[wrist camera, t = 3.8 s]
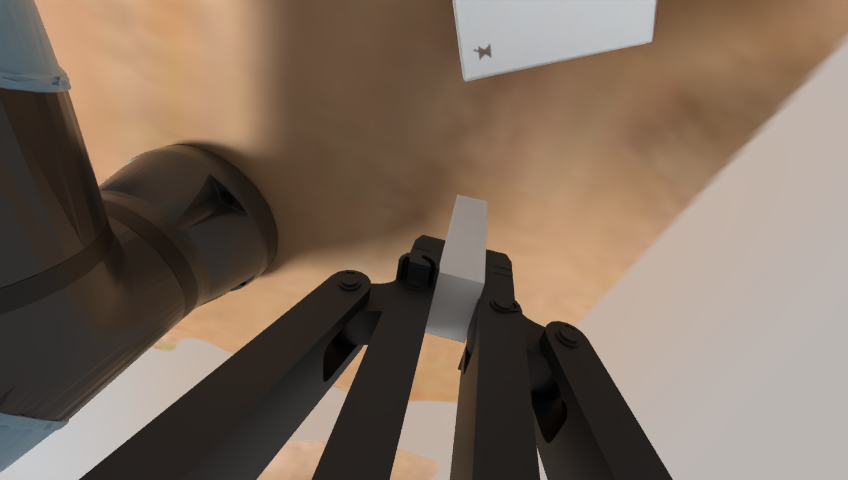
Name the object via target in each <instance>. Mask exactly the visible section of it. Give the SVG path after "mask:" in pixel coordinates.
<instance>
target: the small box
mask: <svg viewBox="0 0 848 480" xmlns="http://www.w3.org/2000/svg"><path fill="white" fill-rule="evenodd" d="M452 2H453V8H454V16H455V24H456V31H457V39H458V47H459V54H460V61H461V68H462V75H463V80H464V81H465V82H468V81H473V80H477V79H481V78H486V77H490V76H495V75H500V74H505V73H509V72H514V71H519V70H524V69H529V68H533V67H538V66H543V65H548V64H553V63H557V62H562V61H567V60H571V59H576V58H581V57H586V56H590V55H595V54H600V53H605V52H609V51H614V50H619V49H623V48H629V47H634V46H639V45H643V44H647V43H651V42H652V41H653V40H654V37H655V28H656V20H657V11H658V2H659V0H452Z"/></svg>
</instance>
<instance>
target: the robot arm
mask: <svg viewBox="0 0 848 480" xmlns="http://www.w3.org/2000/svg"><path fill="white" fill-rule="evenodd" d="M70 89H71V86H70V83H69V78H68V77H67V74H66V72H65V71H64V70H63V69H62V68H61V67H60V66H59V64H58V62H57V59H56V57H55V54H54V51H53V49H52V46H51V43H50V41H49V38H48V35H47V33H46V30H45V28H44V25H43V22H42V20H41V17H40V14H39V12H38V9H37V6H36V4H35V2H34V0H0V472H1V471H3V470H4V469H6V468H7V467H9V466H10V465H11V464H13V463H14V462H15V461H16V460H18V459H19V458H20V457H21V456H23V455H24V454H25V453H27V452H28V451H29V450H31V449H32V448H33V447H34V446H36V445H37V444H38V443H40V442H41V441H42V440H44V439H45V438H46V437H48V436H49V435H50V434H51V433H53V432H54V431H55V430H59V429H61V428H62V427H64V426H65V425H66V424H67V423H68V422H69V419H70V418H71V417H72V416H73V415H74V414H75V413H77V412H78V411H79V410H80V409H81V408H82V407H83V406H84V405H86V404H87V403H88V402H89V401H90V400H91V399H92V398H94V397H95V396H96V395H97V394H98V393H99V392H100V391H101V390H103V389H104V388H105V387H106V386H107V385H108V384H109V383H111V382H112V381H113V380H114V379H115V378H116V377H117V376H118V375H119V374H121V373H122V372H123V371H124V370H125V369H126V368H127V367H129V366H130V365H131V364H132V363H133V362H134V361H135V360H137V359H138V358H139V357H140V356H141V355H142V354H143V353H144V352H146V351H147V350H148V349H149V348H150V347H151V346H152V345H154V344H155V343H156V342H157V341H158V340H159V339H160V338H161V337H163V336H164V335H165V334H166V333H167V332H168V331H169V330H171V329H172V328H173V327H174V326H175V325H176V324H177V323H179V322H180V321H181V320H182V319H183V318H184V317H185V316H187V315H188V314H189V313H190V312H191V311H193V310H194V309H195V308H196V307H199V306H201V305H203V304H206V303H208V302H210V301H212V300H215V299H217V298H219V297H221V296H223V295H225V294H226V293H228V292H230V291H234V290H237V289H240V288H242V287H244V286H246V285H248V284H250V283H251V282H253V281H254V280H255V279H256V278H257V277H258V276H259V275H260V274H261V273H263V272H264V271H265V270H266V269H267V268H268V267H269V265H270V264H271V262H272V261H273V259H274V256H275V253H276V249H277V232H276V227H275V223H274V220H273V217H272V214H271V212H270V210H269V208H268V206H267V204H266V202H265V200H264V199H263V197H262V196H261V194H260V193H259V192H258V190H257V189H256V188H255V186H254V185H253V184H252V183H251V182H250V181H249V180H248V179H247V178H246V177H245V176H244V175H243V174H242V173H241V172H240V171H239V170H237V169H236V168H235V167H234V166H232V165H231V164H230V163H228V162H227V161H225V160H224V159H222V158H220V157H218V156H217V155H214V154H212V153H210V152H208V151H206V150H203V149H200V148H196V147H192V146H186V145H171V146H166V147H162V148H159V149H155V150H152V151H148V152H145V153H143V154H140V155H138V156H136V157H135V158H133V159H132V160H130V161H129V162H128V163H127V164H126V165H125V166H124V167H123V168H122V169H120V170H119V171H118V172H116V173H115V174H114V175H112V176H111V177H110V178H109V179H107V180H106V181H105V182H104V183H102V184H101V185H100V186H99V187H98V184H97V181H96V177H95V174H94V171H93V168H92V165H91V162H90V158H89V155H88V152H87V149H86V146H85V143H84V139H83V136H82V133H81V130H80V127H79V124H78V120H77V117H76V114H75V111H74V108H73V105H72V101H71V98H70V95H69V92H68V90H70ZM487 206H488V201H484V200H480V199H475V198H471V197H467V196H462V195H458V194H457V197H456V201H455V205H454V209H453V213H452V217H451V221H450V225H449V229H448V233H447V237H446V240H441V239H437V238H433V237H429V236H425V235H422V236H420V237H419V238H417V239H416V240H415V242H414V245H413V247H412V250H411V252H410V253H406V254H404V255H402V256H401V257H400V259H399V263H398V270H397V276H396V280H395V281H392V282H389V283H383V284H371V281H370V279H369V278H368V276H366V275H365V274H363V273H362V272H358V271H354V270H345V271H340V272H337V273H335V274H334V275H332V276H331V277H329V278H328V279H327V280H326V281H324V282H323V283H322V284H321V285H320V286H318V287H317V288H316V289H315V290H313V291H312V292H311V293H310V294H308V295H307V296H306V297H305V298H303V299H302V300H301V301H300V302H298V303H297V304H296V305H295V306H293V307H292V308H291V309H290V310H289V311H287V312H286V313H285V314H284V315H282V316H281V317H280V318H279V319H277V320H276V321H275V322H274V323H272V324H271V325H270V326H269V327H267V328H266V329H265V330H264V331H262V332H261V333H260V334H259V335H258V336H256V337H255V338H254V339H253V340H251V341H250V342H249V343H248V344H246V345H245V346H244V347H243V348H241V349H240V350H239V351H238V352H236V353H235V354H234V355H233V356H231V357H230V358H229V359H228V360H227V361H225V362H224V363H223V364H222V365H221V366H219V367H218V368H217V369H215V370H214V371H213V372H212V373H210V374H209V375H208V376H207V377H205V378H204V379H203V380H202V381H201V382H199V383H198V384H197V385H196V386H194V387H193V388H192V389H191V390H189V391H188V392H187V393H186V394H185V395H183V396H182V397H181V398H179V399H178V400H177V401H176V402H175V403H173V404H172V405H171V406H170V407H168V408H167V409H166V410H165V411H164V412H162V413H161V414H160V415H158V416H157V417H156V418H155V419H153V420H152V421H151V422H150V423H148V424H147V425H146V426H145V427H144V428H142V429H141V430H140V431H138V432H137V433H136V434H135V435H134V436H132V437H131V438H130V439H129V440H127V441H126V442H125V443H124V444H122V445H121V446H120V447H119V448H117V450H115V451H114V452H112V454H110V455H109V456H108V457H106V458H105V459H104V460H103V461H101V462H100V463H99V464H98V465H97V466H95V467H94V468H93V469H92V470H90V471H89V472H88V473H86V474H85V475H84V476H83V477H82V478H80V479H79V480H256V479H257V478H258V477H259V475H260V474H261V473H262V472H263V471H264V469H265V468H266V467H267V466H268V464H269V463H270V462H271V461H272V459H273V458H274V457H275V456H276V454H277V453H278V452H279V451H280V449H281V448H282V447H283V446H284V445H285V443H286V442H287V441H288V440H289V438H290V437H291V436H292V434H293V433H294V432H295V431H296V430H297V428H298V427H299V426H300V425H301V423H302V422H303V421H304V420H305V418H306V417H307V416H308V415H309V414H310V412H311V411H312V410H313V409H314V407H315V406H316V405H317V404H318V402H319V401H320V400H321V399H322V397H323V396H324V395H325V394H326V392H327V391H328V390H329V389H330V388H331V386H332V385H333V384H334V383H335V381H336V380H337V379H338V378H339V376H340V375H341V374H342V373H343V371H344V370H345V369H346V368H347V366H348V365H349V364H350V363H351V362H352V360H353V359H354V358H355V357H356V355H357V354H358V353H359V352H360V350H361V349H362V347H363V345H368V347H367V349H366V352H365V354H364V356H363V359H362V361H361V364H360V366H359V368H358V371H357V373H356V375H355V378H354V380H353V383H352V385H351V387H350V390H349V392H348V394H347V397H346V399H345V402H344V404H343V406H342V409H341V411H340V414H339V416H338V418H337V421H336V423H335V425H334V428H333V430H332V433H331V435H330V437H329V440H328V442H327V444H326V447H325V449H324V452H323V454H322V456H321V459H320V461H319V463H318V466H317V468H316V471H315V473H314V475H313V478H312V480H390V475H391V471H392V467H393V463H394V459H395V455H396V450H397V446H398V442H399V438H400V434H401V429H402V425H403V421H404V417H405V413H406V409H407V404H408V400H409V396H410V392H411V388H412V383H413V379H414V375H415V371H416V367H417V363H418V358H419V354H420V350H421V346H422V342H423V337H424V333H428V334H432V335H436V336H440V337H444V338H448V339H451V340H455V341H459V342H463V343H465V340H466V337H467V343H466V347H465V350H464V353H463V356H462V358H461V361H460V364H459V367H458V369H459V370H461V377H460V386H459V396H458V406H457V416H456V426H455V435H454V444H453V454H452V464H451V473H450V480H540V475H539V474H540V473H539V466H538V465H539V464H538V455H537V448H538V451H539V454H540V458H541V461H542V463H543V467H544V470H545V473H546V476H547V479H548V480H672V478H671V476H670V474H669V473H668V471H667V469H666V468H665V466H664V464H663V463H662V461H661V459H660V458H659V456H658V454H657V453H656V451H655V450H654V448H653V446H652V445H651V443H650V441H649V440H648V438H647V436H646V435H645V433H644V431H643V430H642V428H641V426H640V425H639V423H638V421H637V420H636V418H635V417H634V415H633V413H632V411H631V410H630V408H629V406H628V405H627V403H626V401H625V400H624V398H623V397H622V395H621V393H620V392H619V390H618V388H617V387H616V385H615V383H614V382H613V380H612V378H611V377H610V375H609V373H608V372H607V370H606V368H605V367H604V365H603V364H602V362H601V360H600V358H599V357H598V355H597V354H596V352H595V350H594V349H593V347H592V345H591V344H590V342H589V340H588V339H587V338H586V336H585V335H584V334H583V333H582V332H581V331H580V330H578V329H577V328H576V327H574V326H572V325H570V324H568V323H564V322H560V321H555V322H551V323H549V324H547V326H546V328H545V327H543V326H541V325H539V324H537V323H535V322H533V321H531V320H530V319H528V318H527V317H525V316H524V315H523V314H522V309H521V307H520V305H519V304H518V303H517V301H516V300H515V296H514V285H513V273H512V262H511V261H510V259H509V258H508V256H507V255H506V254H503V253H499V252H495V251H491V250H487V249H486V233H487ZM536 445H537V446H536Z"/></svg>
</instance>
